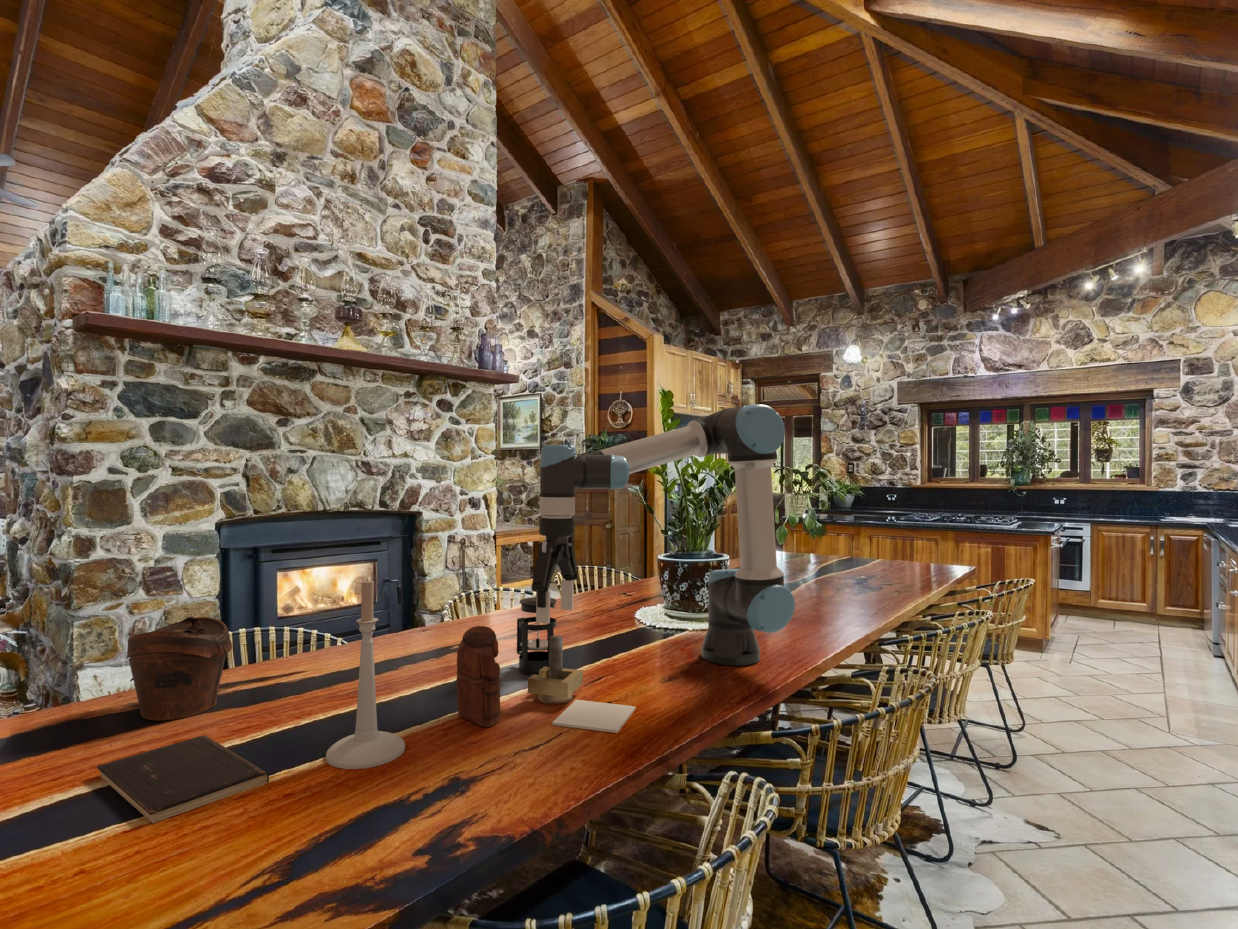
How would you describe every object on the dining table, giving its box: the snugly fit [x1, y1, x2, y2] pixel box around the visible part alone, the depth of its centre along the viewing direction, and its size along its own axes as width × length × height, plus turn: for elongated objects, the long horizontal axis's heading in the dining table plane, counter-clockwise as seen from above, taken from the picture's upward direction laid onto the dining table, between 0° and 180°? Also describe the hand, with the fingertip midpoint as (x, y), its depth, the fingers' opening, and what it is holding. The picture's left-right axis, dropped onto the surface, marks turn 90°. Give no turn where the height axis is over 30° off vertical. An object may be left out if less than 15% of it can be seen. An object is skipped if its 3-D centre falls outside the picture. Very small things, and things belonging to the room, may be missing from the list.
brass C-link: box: [527, 667, 584, 698], centre depth 143 cm, size 9×9×3 cm
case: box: [126, 616, 233, 722], centre depth 135 cm, size 18×20×18 cm
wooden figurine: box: [456, 625, 501, 728], centre depth 131 cm, size 12×6×18 cm, turn 46°
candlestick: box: [325, 578, 406, 770], centre depth 115 cm, size 13×13×30 cm
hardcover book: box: [96, 734, 270, 824], centre depth 105 cm, size 16×23×2 cm
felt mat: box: [552, 699, 636, 734], centre depth 132 cm, size 13×13×1 cm
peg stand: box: [538, 635, 574, 705], centre depth 143 cm, size 7×7×13 cm
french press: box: [516, 574, 557, 677], centre depth 163 cm, size 12×9×23 cm
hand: (555, 616), depth 143 cm, fingers open, 13 cm apart
